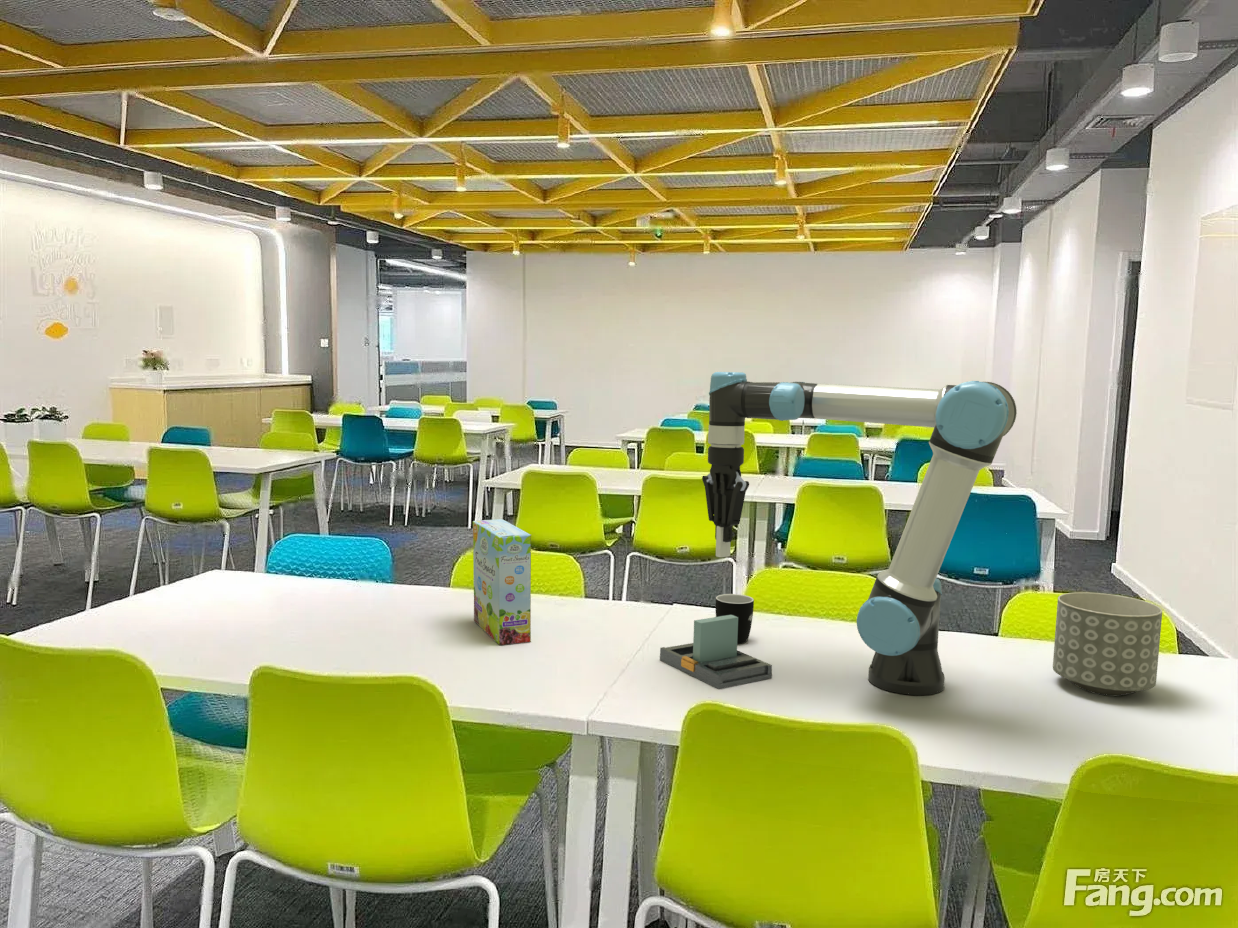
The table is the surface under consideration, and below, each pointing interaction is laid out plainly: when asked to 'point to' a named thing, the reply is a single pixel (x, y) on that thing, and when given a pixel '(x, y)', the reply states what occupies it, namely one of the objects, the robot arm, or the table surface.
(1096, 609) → the planter
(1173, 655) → the table surface
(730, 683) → the rack
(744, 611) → the mug
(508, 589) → the snack box
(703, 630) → the block
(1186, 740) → the table surface
